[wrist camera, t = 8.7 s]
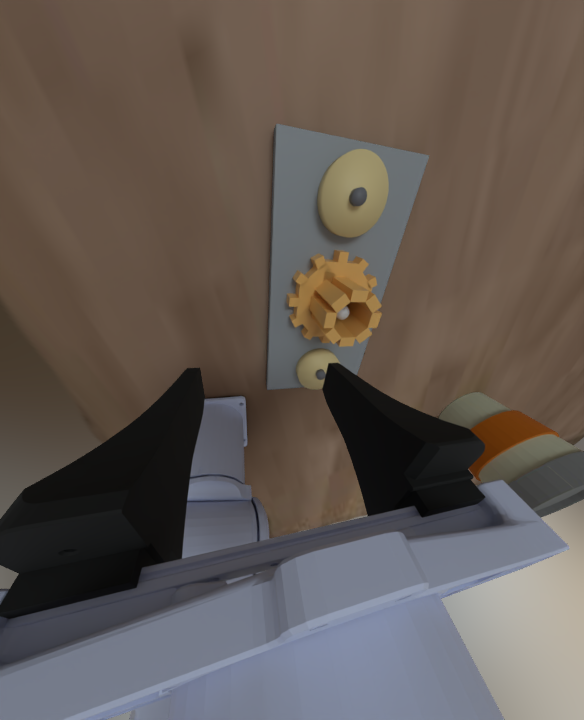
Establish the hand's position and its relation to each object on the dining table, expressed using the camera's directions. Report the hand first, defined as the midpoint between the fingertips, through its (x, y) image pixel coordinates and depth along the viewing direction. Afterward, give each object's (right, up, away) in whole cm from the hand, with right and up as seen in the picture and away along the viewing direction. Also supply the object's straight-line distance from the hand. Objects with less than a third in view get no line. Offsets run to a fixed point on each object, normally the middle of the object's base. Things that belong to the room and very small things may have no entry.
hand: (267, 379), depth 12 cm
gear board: (+5, +7, +8) cm, 12 cm away
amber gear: (+5, +7, +8) cm, 11 cm away
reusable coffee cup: (+32, -8, +26) cm, 42 cm away
